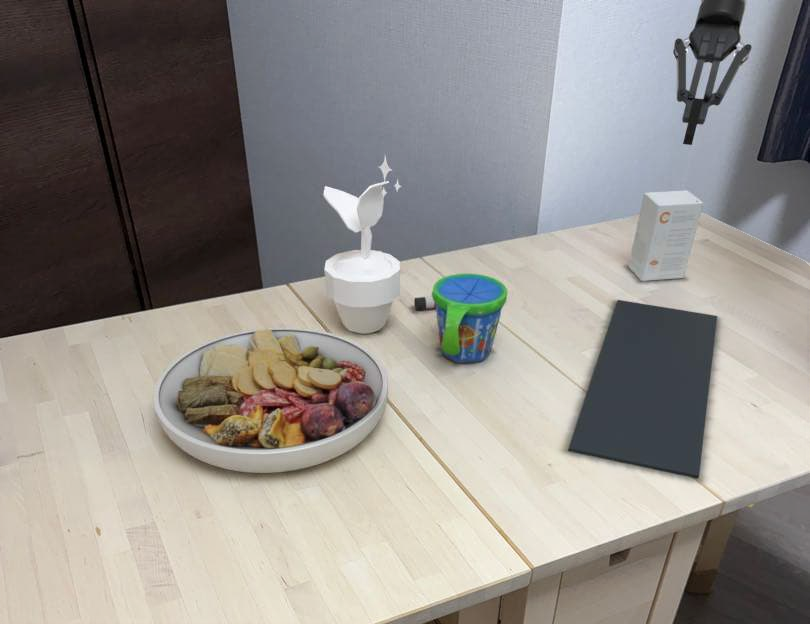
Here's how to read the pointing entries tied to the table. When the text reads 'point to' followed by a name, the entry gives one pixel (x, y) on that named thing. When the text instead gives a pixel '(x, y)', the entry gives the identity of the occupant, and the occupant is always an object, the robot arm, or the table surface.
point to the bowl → (271, 399)
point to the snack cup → (468, 315)
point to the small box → (665, 234)
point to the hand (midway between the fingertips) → (688, 140)
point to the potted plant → (362, 262)
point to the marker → (424, 303)
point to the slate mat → (649, 390)
